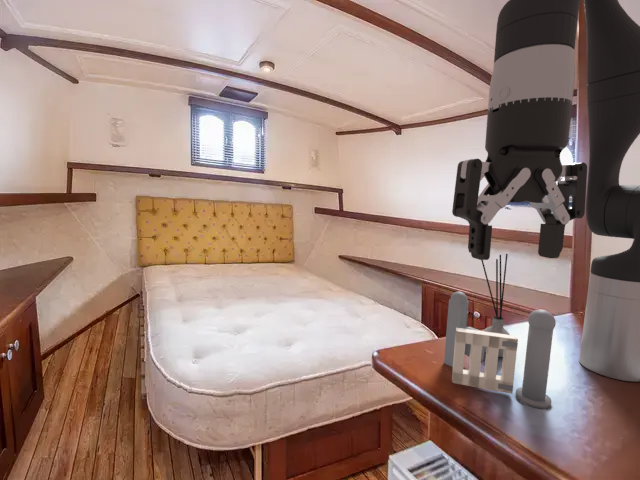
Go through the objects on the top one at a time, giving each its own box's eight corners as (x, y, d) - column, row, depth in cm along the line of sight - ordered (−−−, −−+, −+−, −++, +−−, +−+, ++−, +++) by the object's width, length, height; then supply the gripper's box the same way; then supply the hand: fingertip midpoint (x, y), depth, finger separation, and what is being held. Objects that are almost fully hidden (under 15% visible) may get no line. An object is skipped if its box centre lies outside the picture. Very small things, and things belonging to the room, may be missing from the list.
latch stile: (454, 358, 64) (459, 288, 63) (482, 370, 60) (489, 295, 58) (442, 363, 62) (447, 290, 60) (471, 376, 58) (478, 298, 56)
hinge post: (523, 387, 55) (532, 303, 53) (556, 401, 51) (567, 311, 49) (509, 397, 52) (519, 308, 50) (543, 412, 48) (554, 317, 46)
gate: (509, 388, 53) (515, 335, 52) (512, 394, 51) (518, 339, 50) (451, 377, 56) (455, 327, 55) (452, 383, 54) (456, 331, 53)
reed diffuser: (503, 367, 61) (514, 258, 59) (464, 355, 66) (472, 253, 63) (515, 349, 69) (525, 252, 67) (479, 339, 73) (487, 248, 71)
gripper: (555, 117, 40) (542, 252, 42) (445, 109, 38) (437, 253, 40) (622, 99, 33) (602, 263, 35) (490, 88, 30) (477, 266, 32)
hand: (514, 258), depth 37 cm, fingers open, 8 cm apart
